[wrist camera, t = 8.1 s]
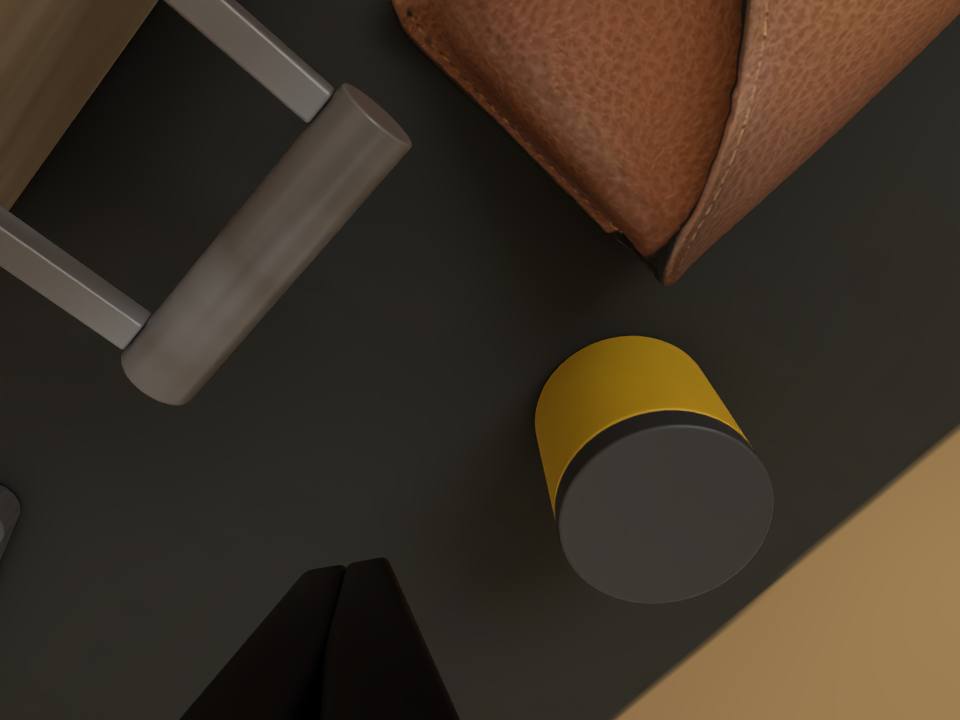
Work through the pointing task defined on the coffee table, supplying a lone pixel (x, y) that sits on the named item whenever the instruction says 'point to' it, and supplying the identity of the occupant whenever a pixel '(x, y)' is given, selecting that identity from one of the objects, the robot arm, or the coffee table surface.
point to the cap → (648, 472)
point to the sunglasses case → (671, 96)
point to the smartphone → (7, 516)
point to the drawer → (251, 231)
